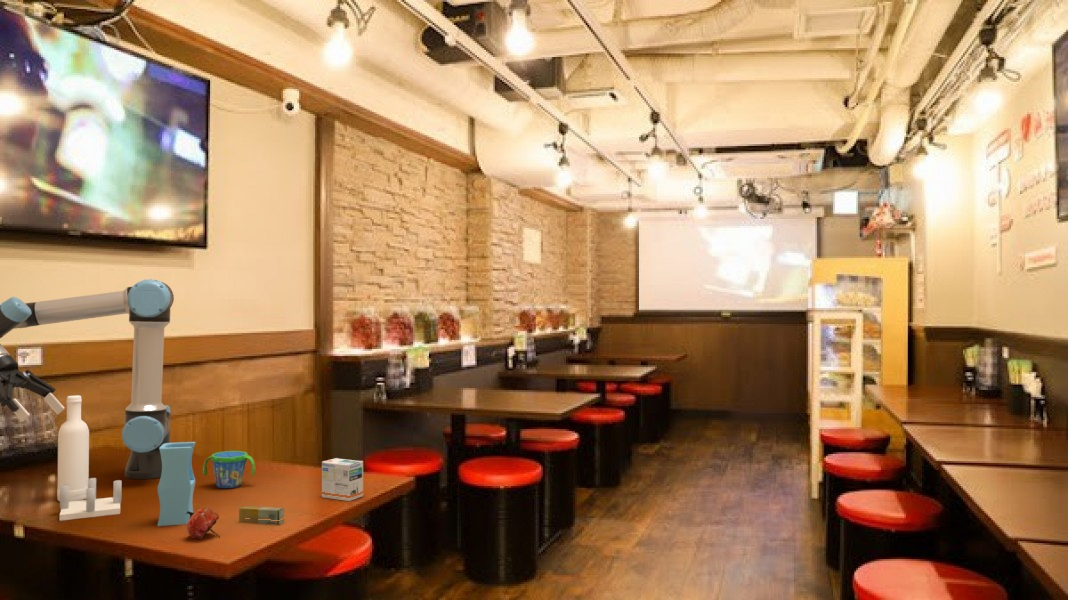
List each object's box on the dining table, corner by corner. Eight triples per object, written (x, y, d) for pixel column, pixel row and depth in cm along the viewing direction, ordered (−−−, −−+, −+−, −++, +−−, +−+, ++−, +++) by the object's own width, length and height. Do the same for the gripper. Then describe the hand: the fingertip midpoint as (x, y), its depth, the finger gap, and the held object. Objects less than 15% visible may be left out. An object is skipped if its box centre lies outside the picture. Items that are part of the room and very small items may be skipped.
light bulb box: (363, 496, 224) (364, 460, 224) (349, 501, 218) (349, 464, 218) (335, 492, 229) (335, 457, 229) (320, 497, 223) (320, 461, 223)
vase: (190, 523, 195) (191, 447, 195) (157, 526, 193) (157, 448, 193) (194, 515, 203) (195, 441, 203) (163, 517, 201) (163, 443, 201)
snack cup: (260, 482, 240) (260, 451, 240) (245, 491, 229) (246, 457, 229) (213, 481, 241) (213, 450, 241) (196, 489, 230) (196, 456, 230)
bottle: (50, 500, 217) (51, 397, 217) (75, 494, 224) (76, 393, 224) (70, 503, 214) (71, 398, 214) (95, 496, 221) (96, 395, 221)
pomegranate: (220, 540, 189) (190, 515, 189) (235, 519, 187) (205, 494, 188) (203, 553, 181) (171, 527, 182) (218, 531, 180) (187, 505, 181)
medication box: (284, 523, 197) (285, 507, 198) (279, 525, 195) (279, 510, 195) (244, 520, 200) (244, 505, 200) (238, 522, 197) (238, 507, 197)
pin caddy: (121, 501, 216) (121, 475, 216) (121, 513, 204) (121, 486, 204) (61, 507, 209) (61, 480, 209) (58, 521, 197) (58, 492, 197)
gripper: (22, 367, 234) (66, 417, 232) (-48, 375, 209) (1, 430, 208) (38, 351, 234) (82, 400, 232) (-30, 356, 209) (18, 412, 207)
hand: (44, 414), depth 220 cm, fingers open, 13 cm apart
